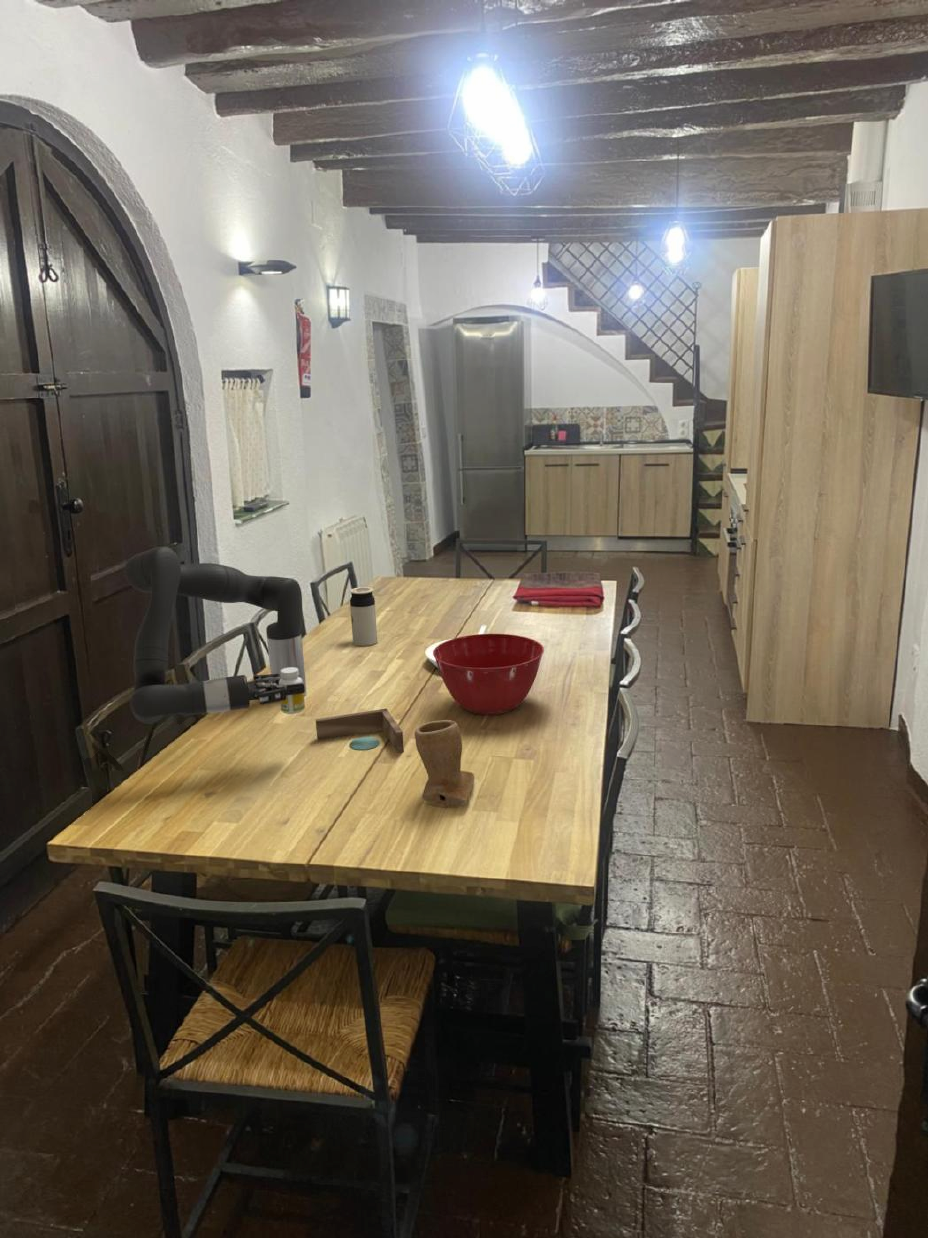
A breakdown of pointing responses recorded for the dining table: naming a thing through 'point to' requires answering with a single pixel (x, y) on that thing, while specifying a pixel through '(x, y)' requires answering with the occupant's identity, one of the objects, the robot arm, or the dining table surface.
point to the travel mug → (363, 616)
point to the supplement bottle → (292, 701)
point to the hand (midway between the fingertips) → (302, 683)
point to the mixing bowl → (489, 670)
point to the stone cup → (443, 763)
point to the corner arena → (361, 728)
